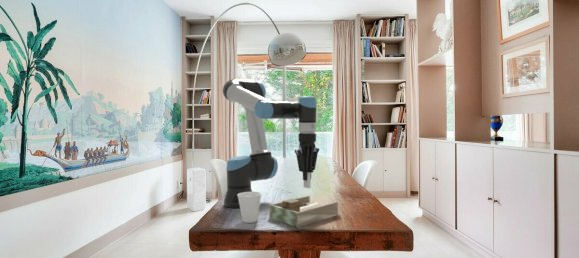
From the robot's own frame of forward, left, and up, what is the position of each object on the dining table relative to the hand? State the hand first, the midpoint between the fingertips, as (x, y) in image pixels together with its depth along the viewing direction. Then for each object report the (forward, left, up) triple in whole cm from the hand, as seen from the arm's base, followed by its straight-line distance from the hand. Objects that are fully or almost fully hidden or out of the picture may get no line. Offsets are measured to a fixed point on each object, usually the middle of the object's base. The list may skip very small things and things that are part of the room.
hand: (307, 187), depth 137 cm
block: (+1, -10, -9) cm, 14 cm away
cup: (-10, -23, -12) cm, 28 cm away
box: (+1, -3, -12) cm, 12 cm away
